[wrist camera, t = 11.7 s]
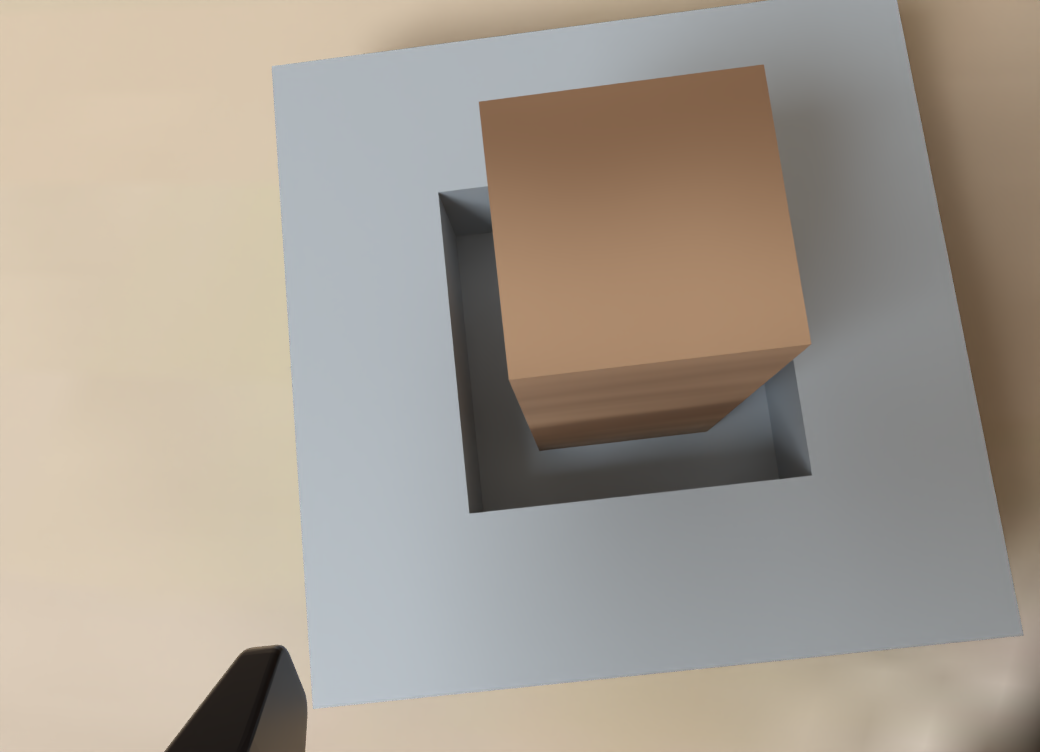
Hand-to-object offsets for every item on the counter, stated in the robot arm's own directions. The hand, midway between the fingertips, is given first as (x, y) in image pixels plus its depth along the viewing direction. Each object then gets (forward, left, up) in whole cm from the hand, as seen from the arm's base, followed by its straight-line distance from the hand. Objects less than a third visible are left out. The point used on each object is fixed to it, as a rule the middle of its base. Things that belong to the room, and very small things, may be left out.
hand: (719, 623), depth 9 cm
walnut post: (+3, +4, -12) cm, 13 cm away
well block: (+3, +4, -13) cm, 14 cm away
